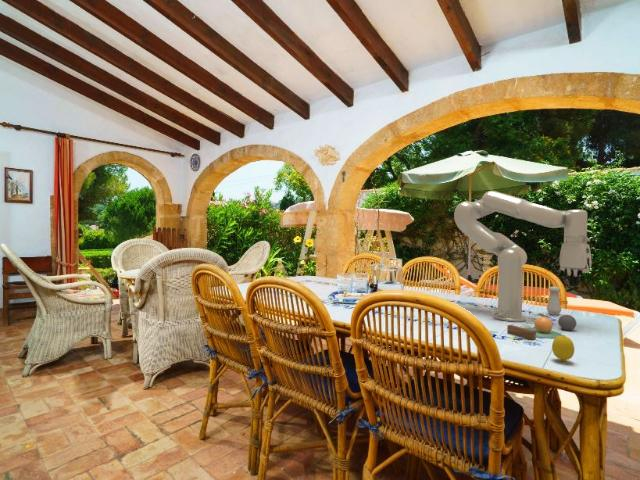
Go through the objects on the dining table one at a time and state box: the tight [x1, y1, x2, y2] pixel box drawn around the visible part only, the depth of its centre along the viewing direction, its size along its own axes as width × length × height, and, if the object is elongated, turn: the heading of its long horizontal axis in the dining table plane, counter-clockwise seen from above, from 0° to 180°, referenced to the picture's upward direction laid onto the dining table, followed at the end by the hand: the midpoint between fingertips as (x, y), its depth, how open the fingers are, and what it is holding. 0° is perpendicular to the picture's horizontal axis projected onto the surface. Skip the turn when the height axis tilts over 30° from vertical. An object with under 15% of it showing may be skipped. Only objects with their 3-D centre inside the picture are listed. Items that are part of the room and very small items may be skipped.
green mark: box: [524, 327, 563, 339], centre depth 141 cm, size 14×14×1 cm
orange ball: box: [534, 316, 554, 333], centre depth 141 cm, size 6×6×6 cm
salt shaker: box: [546, 286, 562, 316], centre depth 174 cm, size 6×6×13 cm
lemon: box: [551, 334, 575, 362], centre depth 110 cm, size 6×6×8 cm
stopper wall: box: [506, 324, 537, 341], centre depth 136 cm, size 2×10×3 cm, turn 25°
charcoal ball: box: [557, 314, 577, 331], centre depth 146 cm, size 6×6×6 cm
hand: (573, 285), depth 149 cm, fingers closed
